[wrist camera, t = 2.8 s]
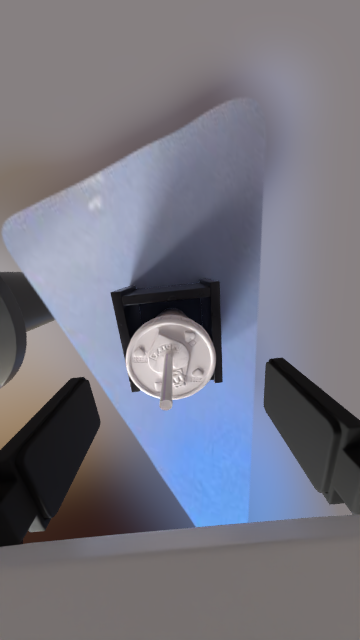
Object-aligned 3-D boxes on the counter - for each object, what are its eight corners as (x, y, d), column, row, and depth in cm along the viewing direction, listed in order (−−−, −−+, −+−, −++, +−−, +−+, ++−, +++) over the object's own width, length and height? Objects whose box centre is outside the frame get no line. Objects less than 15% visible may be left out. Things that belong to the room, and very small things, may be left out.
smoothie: (188, 289, 20) (221, 326, 6) (204, 336, 22) (255, 444, 8) (138, 306, 20) (67, 378, 7) (157, 352, 22) (132, 480, 8)
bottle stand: (142, 360, 22) (131, 392, 16) (128, 286, 19) (110, 292, 14) (209, 353, 22) (222, 382, 16) (205, 278, 20) (219, 281, 14)
